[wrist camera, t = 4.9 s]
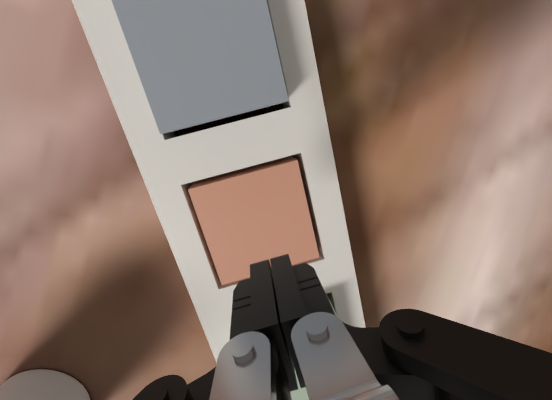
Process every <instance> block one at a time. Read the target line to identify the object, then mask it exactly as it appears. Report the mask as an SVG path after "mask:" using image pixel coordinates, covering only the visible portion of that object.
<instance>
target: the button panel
mask: <svg viewBox="0 0 552 400" xmlns="http://www.w3.org/2000/svg"><path fill="white" fill-rule="evenodd" d="M72 2H73V5H74V7H75V10H76V12H77V15H78V17H79V20H80V22H81V25H82V27H83V30H84V32H85V35H86V37H87V40H88V42H89V45H90V47H91V50H92V52H93V55H94V57H95V60H96V62H97V65H98V67H99V70H100V72H101V75H102V77H103V80H104V82H105V85H106V87H107V90H108V92H109V95H110V97H111V100H112V102H113V105H114V107H115V110H116V112H117V115H118V117H119V120H120V122H121V125H122V127H123V130H124V132H125V135H126V137H127V140H128V142H129V145H130V147H131V150H132V152H133V155H134V157H135V160H136V162H137V165H138V167H139V170H140V172H141V175H142V177H143V180H144V182H145V185H146V187H147V190H148V192H149V195H150V197H151V200H152V202H153V205H154V207H155V210H156V212H157V215H158V217H159V220H160V222H161V225H162V227H163V230H164V232H165V235H166V237H167V240H168V242H169V245H170V247H171V250H172V252H173V255H174V257H175V260H176V262H177V265H178V267H179V270H180V272H181V275H182V277H183V280H184V282H185V285H186V287H187V290H188V292H189V295H190V297H191V300H192V302H193V305H194V307H195V310H196V312H197V315H198V317H199V320H200V322H201V325H202V327H203V330H204V332H205V335H206V337H207V340H208V342H209V345H210V347H211V350H212V352H213V355H214V357H215V360H216V362H217V359H218V355H219V353H220V351H221V349H222V348H223V346H224V345H225V344H226V343H227V342H228V341H229V340H230V327H231V314H232V303H233V301H232V300H233V291H234V289H235V287H236V286H237V284H238V282H239V281H242V280H245V279H249V278H250V277H249V278H245V279H242V280H238V281H235V282H231V283H228V284H224V285H222V284H221V282H220V279H219V276H218V273H217V270H216V268H215V265H214V262H213V259H212V256H211V253H210V251H209V248H208V245H207V242H206V239H205V237H204V234H203V231H202V228H201V225H200V223H199V220H198V217H197V214H196V211H195V208H194V206H193V203H192V200H191V197H190V194H189V192H188V189H189V187H190V186H191V185H192V183H191V182H194V181H198V180H202V179H205V178H209V177H213V176H217V175H220V174H224V173H228V172H232V171H235V170H239V169H243V168H246V167H250V166H254V165H258V164H261V163H265V162H269V161H273V160H276V159H280V158H284V157H287V156H291V155H295V159H297V160H298V164H299V169H300V173H301V177H302V182H303V186H304V191H305V195H306V199H307V204H308V208H309V213H310V217H311V222H312V226H313V230H314V235H315V239H316V244H317V248H318V253H319V258H315V259H312V260H308V261H305V262H301V263H298V264H302V263H307V264H308V265H310V266H312V267H313V268H314V269H315V271H316V274H317V276H318V278H319V280H320V282H321V285H322V287H323V289H324V291H325V293H326V294H327V296H328V298H329V300H330V302H331V304H332V306H333V308H334V310H335V312H336V316H337V317H338V318H339V319H341V321H342V322H344V323H345V324H348V325H350V326H354V327H360V328H366V327H365V322H364V316H363V311H362V306H361V300H360V295H359V289H358V284H357V279H356V273H355V268H354V263H353V257H352V252H351V247H350V241H349V236H348V231H347V225H346V220H345V214H344V209H343V204H342V198H341V193H340V188H339V182H338V177H337V172H336V166H335V161H334V156H333V150H332V145H331V139H330V134H329V129H328V123H327V118H326V113H325V107H324V102H323V97H322V91H321V86H320V80H319V75H318V70H317V64H316V59H315V54H314V48H313V43H312V38H311V32H310V27H309V22H308V16H307V11H306V5H305V0H267V4H268V9H269V13H270V18H271V22H272V27H273V31H274V36H275V40H276V45H277V49H278V54H279V58H280V63H281V67H282V72H283V76H284V81H285V85H286V90H287V94H288V99H289V101H287V102H284V103H283V106H284V109H281V110H277V111H274V112H270V113H266V114H262V115H258V116H254V117H250V118H247V119H243V120H239V121H235V122H231V123H227V124H224V125H220V126H216V127H212V128H208V129H204V130H201V131H197V132H193V133H189V134H185V135H181V136H178V137H175V134H174V131H173V132H169V133H164V134H160V132H159V130H158V127H157V124H156V121H155V119H154V116H153V113H152V110H151V108H150V105H149V102H148V99H147V97H146V94H145V91H144V88H143V86H142V83H141V80H140V77H139V75H138V72H137V69H136V66H135V64H134V61H133V58H132V55H131V53H130V50H129V47H128V44H127V42H126V39H125V36H124V33H123V31H122V28H121V25H120V22H119V20H118V17H117V14H116V11H115V9H114V6H113V3H112V0H72ZM298 264H294V265H292V266H295V265H298Z"/></svg>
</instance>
